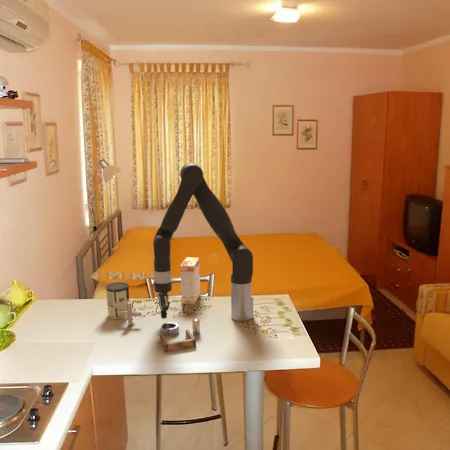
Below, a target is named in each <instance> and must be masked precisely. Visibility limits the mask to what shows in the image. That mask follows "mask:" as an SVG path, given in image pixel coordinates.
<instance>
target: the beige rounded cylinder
mask: <svg viewBox="0 0 450 450" xmlns="http://www.w3.org/2000/svg"><path fill="white" fill-rule="evenodd" d="M191 325H192V335H193V336H198V335H200V334H201V331H200V330H201V326H200V318H193V319H192V324H191Z"/></svg>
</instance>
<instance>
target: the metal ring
mask: <svg viewBox="0 0 450 450" xmlns="http://www.w3.org/2000/svg"><path fill="white" fill-rule="evenodd" d="M160 328H161V329H160V330H161V331H160V332H161V333H160V334H162V335H163V337H164V336H165V337H172V336H173V337H174V336H176V335H178V334H179V331H180V330H179V329H180V326H179V324H178V323H177V322H172V321H170V322H164V323H163V324H162V325H161V326H160Z"/></svg>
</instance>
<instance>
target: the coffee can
mask: <svg viewBox="0 0 450 450" xmlns="http://www.w3.org/2000/svg"><path fill="white" fill-rule="evenodd" d="M105 290H106V291H105V293H106V303H107V305H106V306H107V317H108V318H109V319H114V320H120V319H124V316H125V315H119V314H118V312H119V311H128V308H127V303H128V302H130V287H129V283H127V282H121V281H120V282H119V281H118V282H113V283H109V284H107V285H106V286H105Z"/></svg>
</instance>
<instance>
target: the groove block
mask: <svg viewBox="0 0 450 450" xmlns="http://www.w3.org/2000/svg"><path fill="white" fill-rule="evenodd" d="M185 337H186V339H182V340H178V341H172V342H167V340H166V338H165V337H164V335H163V334H162V333H159V334H158V338H159V339H158V341H159V344H160V345H161V347H162V349H163V350H164V352H165V353H169V352H175V351H178V350H179V351H180V350H186V349H191V348H196V347H197V340H196V339H197V338H195V335H194V334H193V333H191V331H190V330H189V329H185Z"/></svg>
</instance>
